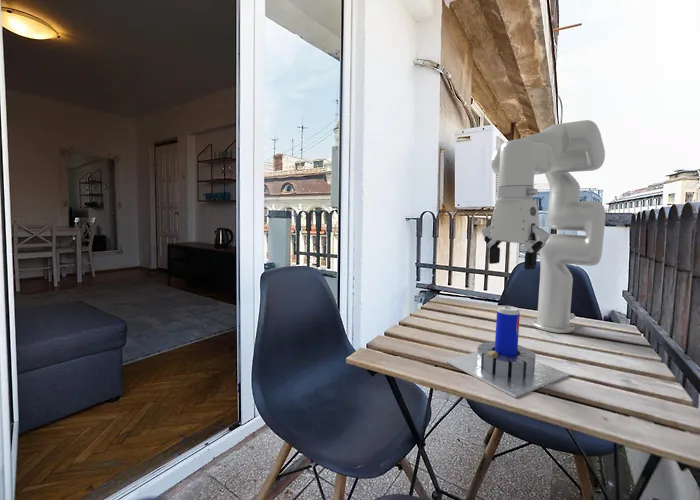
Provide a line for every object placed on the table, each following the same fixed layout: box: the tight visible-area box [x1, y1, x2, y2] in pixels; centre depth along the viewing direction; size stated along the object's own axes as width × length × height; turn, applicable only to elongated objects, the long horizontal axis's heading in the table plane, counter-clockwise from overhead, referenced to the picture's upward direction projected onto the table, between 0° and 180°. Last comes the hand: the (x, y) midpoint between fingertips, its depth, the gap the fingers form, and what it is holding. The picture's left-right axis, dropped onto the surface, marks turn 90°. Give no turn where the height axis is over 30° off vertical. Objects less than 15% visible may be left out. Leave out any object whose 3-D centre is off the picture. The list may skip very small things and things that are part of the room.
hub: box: [445, 341, 570, 399], centre depth 89 cm, size 20×20×5 cm
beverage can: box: [494, 305, 521, 357], centre depth 88 cm, size 5×5×15 cm
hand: (511, 266), depth 86 cm, fingers open, 9 cm apart
